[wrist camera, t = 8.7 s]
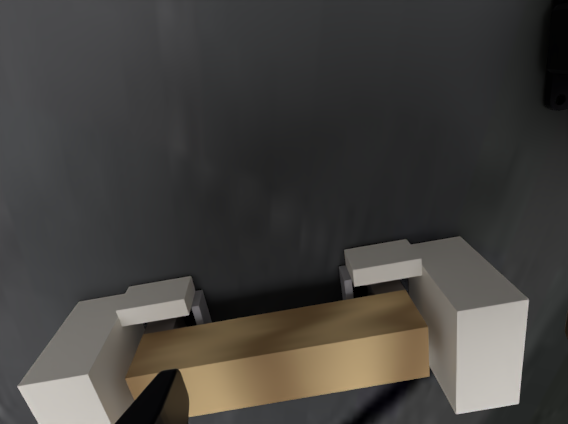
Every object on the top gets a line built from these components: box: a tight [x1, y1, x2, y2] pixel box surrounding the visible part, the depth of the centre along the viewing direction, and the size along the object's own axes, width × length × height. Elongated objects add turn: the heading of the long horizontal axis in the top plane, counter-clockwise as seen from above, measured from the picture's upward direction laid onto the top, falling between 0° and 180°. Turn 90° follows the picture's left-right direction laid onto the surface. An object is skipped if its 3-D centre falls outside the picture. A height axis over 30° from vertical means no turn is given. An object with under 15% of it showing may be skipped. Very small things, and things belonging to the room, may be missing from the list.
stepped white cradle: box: [17, 236, 529, 424], centre depth 20 cm, size 22×7×6 cm, turn 99°
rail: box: [125, 279, 429, 417], centre depth 21 cm, size 14×3×5 cm, turn 99°
